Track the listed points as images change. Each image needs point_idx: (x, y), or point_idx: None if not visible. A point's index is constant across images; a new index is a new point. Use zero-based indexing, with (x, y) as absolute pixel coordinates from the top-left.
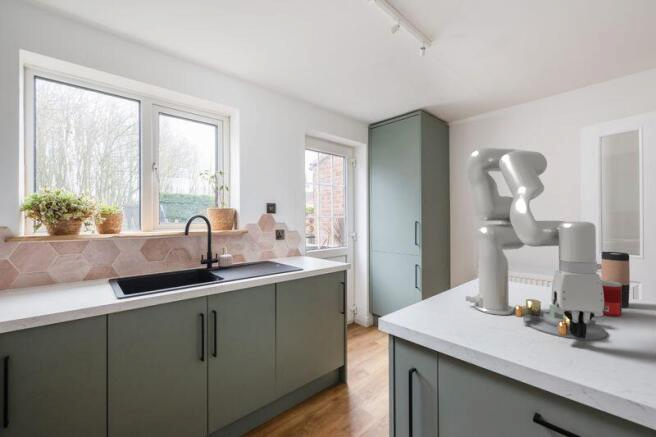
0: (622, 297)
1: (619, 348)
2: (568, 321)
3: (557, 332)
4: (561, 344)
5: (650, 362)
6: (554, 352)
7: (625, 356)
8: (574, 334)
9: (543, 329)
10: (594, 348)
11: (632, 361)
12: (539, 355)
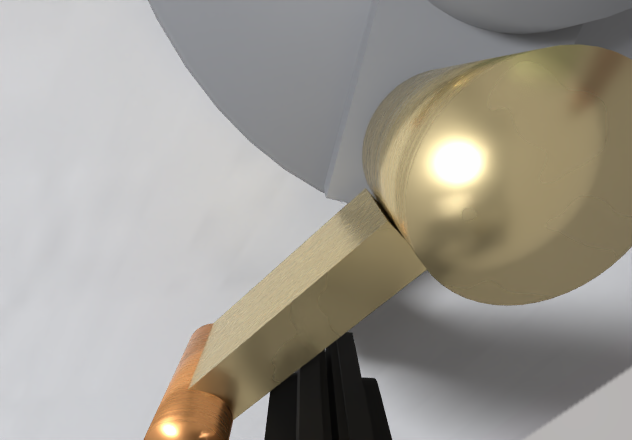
0: None
1: (549, 314)
2: (344, 300)
3: (291, 141)
4: (224, 298)
5: (533, 432)
6: (125, 397)
7: (478, 395)
8: (295, 372)
9: (196, 69)
10: (396, 329)
11: (459, 433)
12: (29, 433)
